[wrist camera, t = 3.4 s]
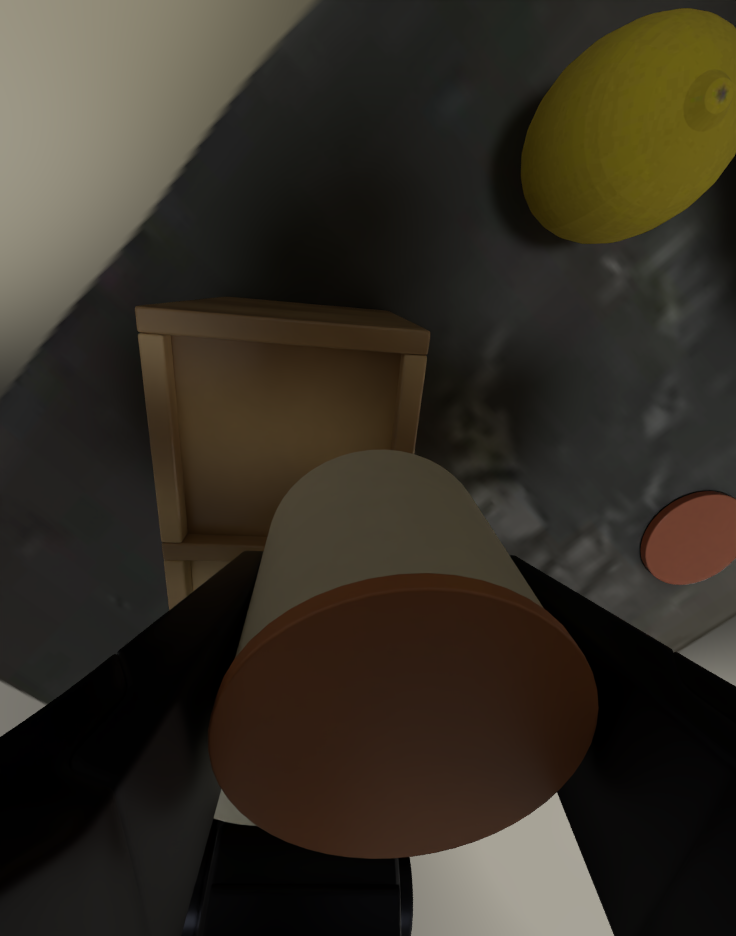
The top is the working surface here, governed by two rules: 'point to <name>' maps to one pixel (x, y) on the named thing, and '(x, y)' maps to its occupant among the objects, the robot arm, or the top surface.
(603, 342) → the top surface
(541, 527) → the top surface
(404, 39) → the top surface
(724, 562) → the coaster
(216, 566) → the pod rack
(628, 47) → the lemon
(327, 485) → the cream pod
